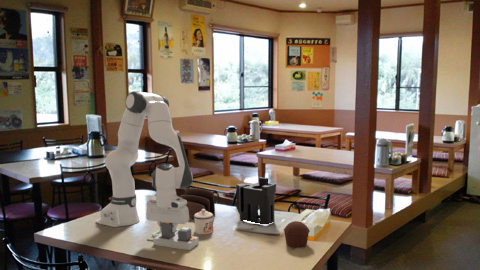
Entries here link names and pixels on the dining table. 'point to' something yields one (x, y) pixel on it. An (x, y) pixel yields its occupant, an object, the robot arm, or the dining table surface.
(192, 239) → the power strip
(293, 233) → the muffin
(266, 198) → the black machined bracket
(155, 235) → the tray
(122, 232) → the dining table surface
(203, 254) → the dining table surface
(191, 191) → the letter holder
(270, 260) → the dining table surface
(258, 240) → the dining table surface
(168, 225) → the plug
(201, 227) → the teacup with lid
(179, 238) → the dark grey block
